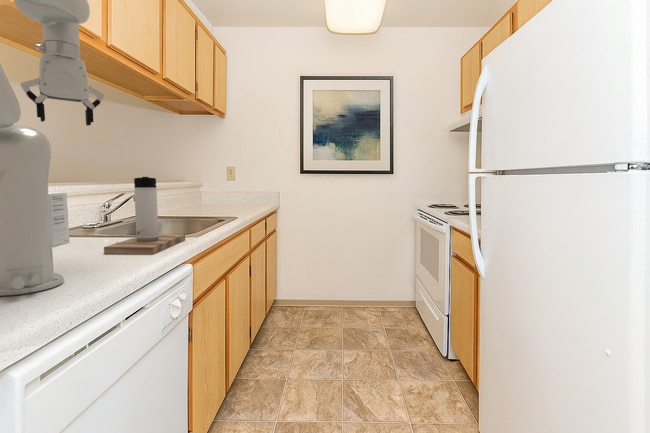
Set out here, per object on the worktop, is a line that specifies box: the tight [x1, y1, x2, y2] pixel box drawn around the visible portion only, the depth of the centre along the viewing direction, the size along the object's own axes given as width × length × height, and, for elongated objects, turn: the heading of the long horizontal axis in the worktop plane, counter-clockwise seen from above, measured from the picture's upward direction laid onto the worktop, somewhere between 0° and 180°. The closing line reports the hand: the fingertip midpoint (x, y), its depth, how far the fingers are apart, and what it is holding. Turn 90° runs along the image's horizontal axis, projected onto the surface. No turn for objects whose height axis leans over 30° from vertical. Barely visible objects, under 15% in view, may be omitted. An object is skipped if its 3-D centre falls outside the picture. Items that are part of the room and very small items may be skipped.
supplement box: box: [48, 191, 70, 248], centre depth 119 cm, size 10×9×17 cm
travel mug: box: [133, 176, 159, 242], centre depth 116 cm, size 6×7×20 cm
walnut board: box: [103, 233, 186, 256], centre depth 118 cm, size 24×14×2 cm, turn 179°
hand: (66, 122), depth 95 cm, fingers open, 9 cm apart
